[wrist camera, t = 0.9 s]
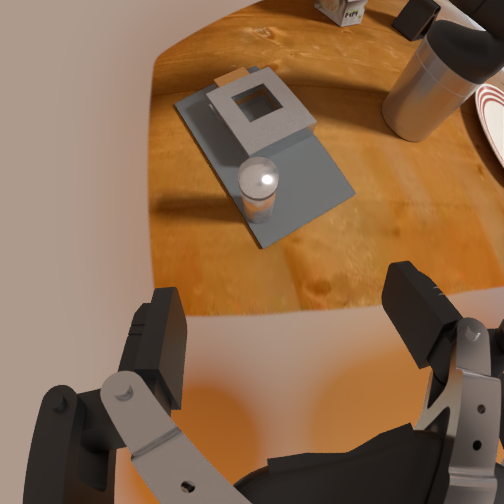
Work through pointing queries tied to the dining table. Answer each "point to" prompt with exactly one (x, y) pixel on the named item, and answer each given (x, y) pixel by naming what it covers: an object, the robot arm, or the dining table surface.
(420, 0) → the dark triangular stand
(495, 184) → the dining table surface
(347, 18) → the coffee box
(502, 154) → the dinner plate
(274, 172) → the pin
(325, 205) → the mat
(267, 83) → the clevis
